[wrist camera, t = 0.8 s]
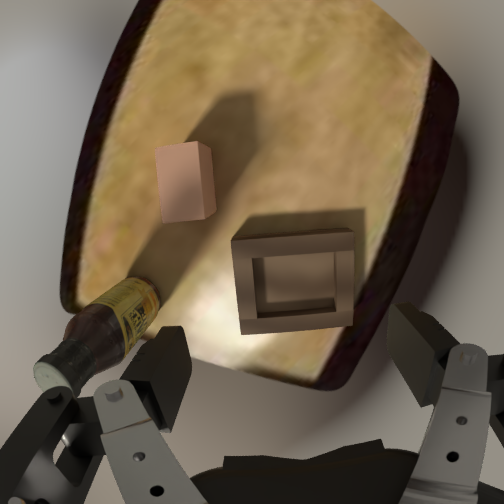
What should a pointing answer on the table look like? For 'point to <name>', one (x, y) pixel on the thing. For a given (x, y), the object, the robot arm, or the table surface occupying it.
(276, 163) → the table surface
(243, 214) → the table surface
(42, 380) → the sauce bottle
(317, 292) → the cradle
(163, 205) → the key block
